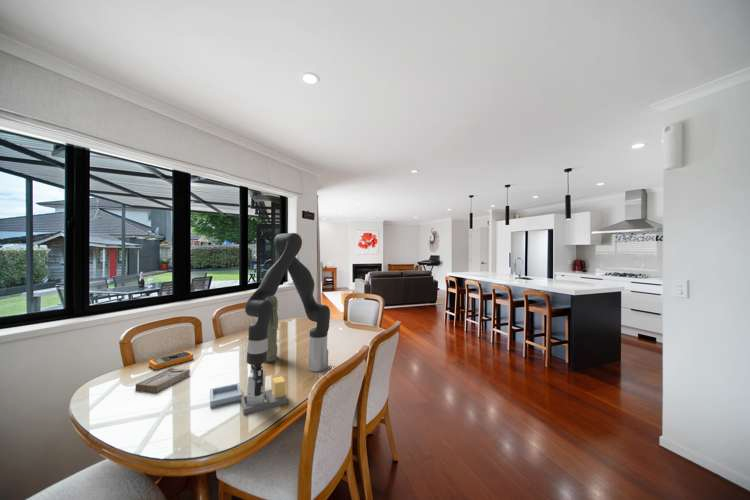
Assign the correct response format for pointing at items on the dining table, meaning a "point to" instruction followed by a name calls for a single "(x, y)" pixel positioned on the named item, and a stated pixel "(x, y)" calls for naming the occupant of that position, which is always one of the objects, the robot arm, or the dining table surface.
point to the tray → (225, 395)
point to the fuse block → (268, 397)
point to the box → (162, 380)
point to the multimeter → (170, 360)
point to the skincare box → (250, 393)
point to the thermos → (272, 331)
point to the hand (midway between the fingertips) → (255, 390)
